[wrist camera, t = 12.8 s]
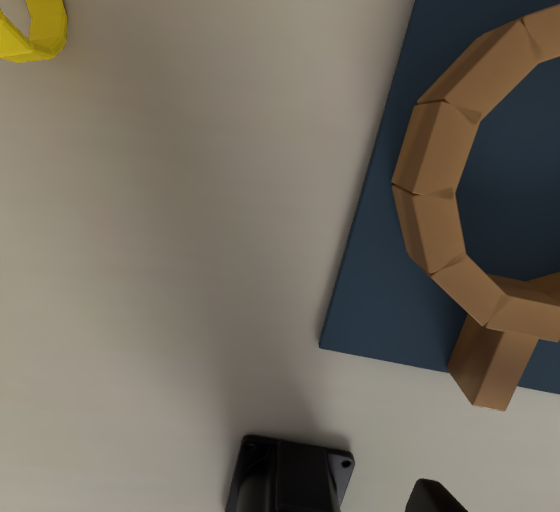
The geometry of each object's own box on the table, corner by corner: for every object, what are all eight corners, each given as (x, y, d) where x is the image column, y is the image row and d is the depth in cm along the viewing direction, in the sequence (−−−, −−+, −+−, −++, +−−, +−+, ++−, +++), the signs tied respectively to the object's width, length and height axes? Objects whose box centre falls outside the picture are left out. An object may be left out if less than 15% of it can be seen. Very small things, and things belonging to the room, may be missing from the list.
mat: (584, 395, 22) (590, 400, 22) (318, 343, 21) (319, 348, 20) (805, -20, 16) (821, -25, 16) (449, -123, 15) (455, -131, 15)
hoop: (573, 392, 21) (619, 433, 19) (340, 348, 20) (351, 383, 18) (749, 55, 16) (848, 40, 14) (452, -24, 16) (491, -58, 13)
